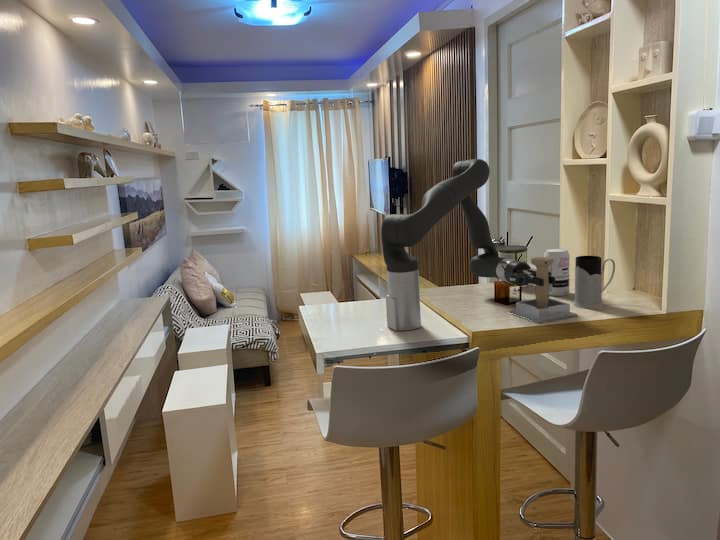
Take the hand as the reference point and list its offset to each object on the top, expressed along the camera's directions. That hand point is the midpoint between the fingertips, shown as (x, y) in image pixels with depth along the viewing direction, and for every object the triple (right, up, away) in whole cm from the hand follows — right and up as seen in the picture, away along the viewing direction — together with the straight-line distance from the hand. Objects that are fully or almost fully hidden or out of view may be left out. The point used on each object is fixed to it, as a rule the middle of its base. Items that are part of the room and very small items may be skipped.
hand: (548, 281), depth 176 cm
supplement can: (+12, -5, +28) cm, 31 cm away
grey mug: (+19, -7, +13) cm, 24 cm away
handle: (-1, -8, +4) cm, 9 cm away
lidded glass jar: (+1, -2, +44) cm, 44 cm away
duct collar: (0, -10, +4) cm, 11 cm away
